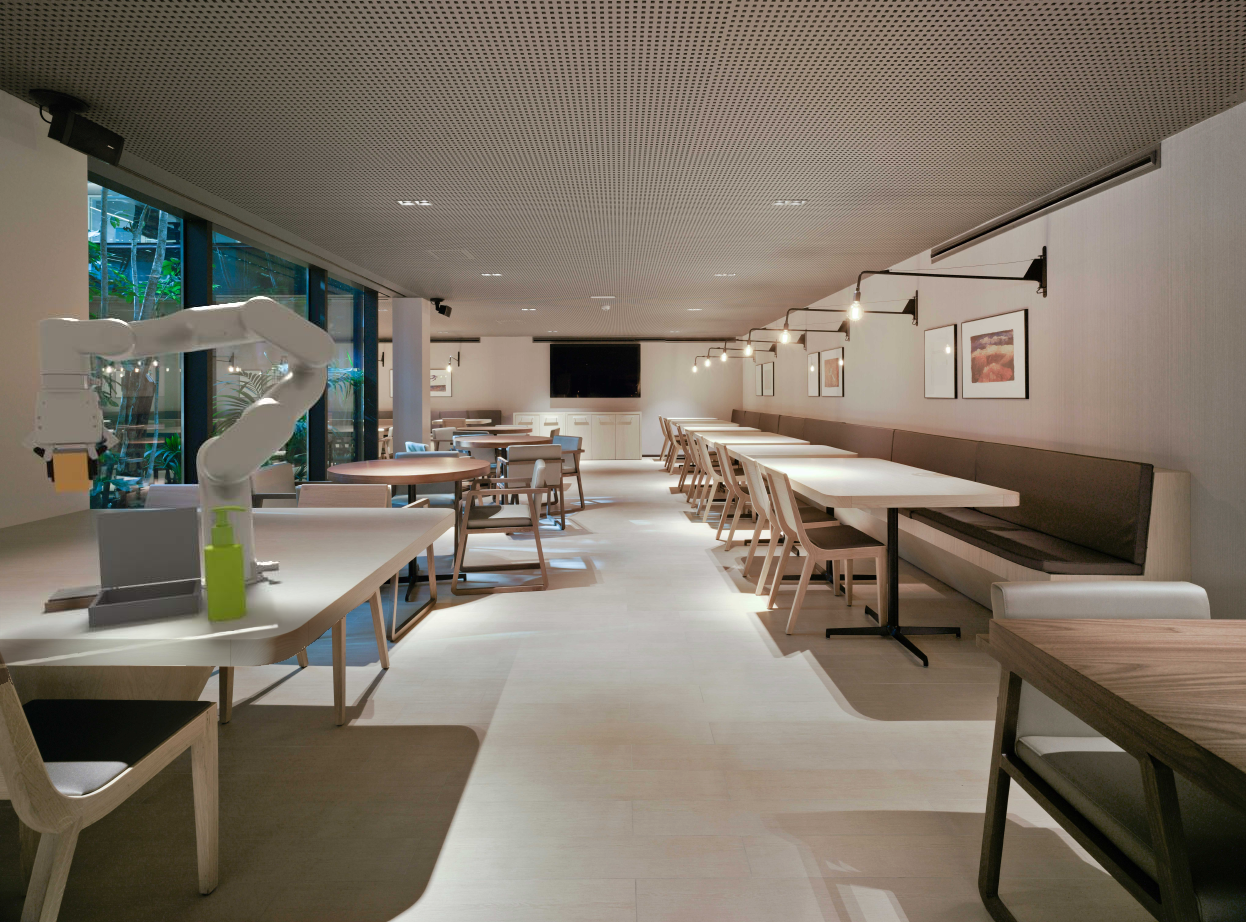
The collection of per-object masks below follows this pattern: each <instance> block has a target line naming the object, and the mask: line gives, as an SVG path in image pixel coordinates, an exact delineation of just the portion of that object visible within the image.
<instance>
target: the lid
mask: <svg viewBox="0 0 1246 922" xmlns="http://www.w3.org/2000/svg"><path fill="white" fill-rule="evenodd" d="M96 522H97V538H98V539H97V540H98V541H97V542H98V555H99V558H98V559H99V573H100V585H101V589H105V588H114V587H118V588H124V587H133V586H142V585H151V584H160V583H169V582H178V581H186V580H195V579H202V569H201V568H202V567H201V553H200V536H199V533H200V532H199V518H198V506H189V507H188V506H187V507H174V508H159V509H148V510H147V509H146V510H134V511H133V510H131V511H120V512H119V511H117V512H115V511H114V512H104V513H96Z"/></svg>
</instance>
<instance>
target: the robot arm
mask: <svg viewBox="0 0 1246 922" xmlns="http://www.w3.org/2000/svg"><path fill="white" fill-rule="evenodd" d="M36 327H37V329H36V330H37V331H36V332H37V340H38V355H39V357H38V358H39V366H40V367H39V369H40V378H41V391H39V392H37V395H36V400H35V401H36V402H35V416H34V423H35V424H34V428H33V429H32V430H31V432H29V434H28V435H26V436H25V438H24V439H23V440H22V441H21V445H22V446H23V447H24V448H26V449H28V450H29V451H31V452H34V453H35V454H36V455H37V456H39V457H41V458H42V460H44V461H45V462H46V474H47V478H48V479H51V482H52V483H55V478H54V465H53V452H52V450H53V449H58V448H59V446H63V445H64V446H66V445H67V446H68V445H84V446H85V448H87V450H88V453H89V455H90V456H89V460H88V472H89V480H93V481H95V480H96V479H97V476H99V475H100V466H99V458H101V457H102V456H103V454H105V453H106V452H107V451H108V450H109V449H111V448H112V447H113V446H115V445H116V444H118V443H119V441H120V440H119V438H117V437H116V436H115V435H114V434H113V432H111V431H110V430H109V429H107V427H106V426H105V422H104V421H105V420H104V415H103V410H102V404H101V400H100V399H101V398H100V396H99V393H98V392H95V391H93V390H94V388H95V387H101V386H102V381H101V379H100V378H95V377H93V376H92V367H91V366H92V365H91V356H93V357H101V358H102V359H104V360H107V361H111V362H112V361H113V362H121V361H129V360H137V359H144V358H150V357H157V356H164V355H169V354H177V353H189V352H196V351H203V350H210V349H217V348H221V347H229V346H237V345H244V344H251V343H252V344H253V343H257V342H258V343H259V342H264V341H265V342H266V343H267V344H270V345H271V346H272V347H275V349H277V350H279V351H281V352H283V353H284V354H285V356H286V360H287V365H288V366H287V367H288V368H287V370H286V372H285V374H284V376H283V377H282V378H281V379H280V380H279V381H278V382H276V384H275V385H274V386H273V387H272V388H271V389H269V390H268V391H267V392H266V393H265V394H264V395H262V396H261V397H260V398H259V399H258V400H256V401H255V402H253V403H252V404H250V405H249V406H247V408H245V410H244V411H242V414H241V416H240V417H239V419H237V421H235V422H234V423H233V424H232V425H231V426H230V427H228V428H227V429H226V430H225V431H224V432H223V433H221V434H220V435H218V436H213V437H211V438H209V439H207V440H206V441H205V442H204V443H202V445H201V446H200V447H199V449H198V450H197V451H198V452H197V454H196V461H195V462H196V473H197V480H198V481H197V482H198V490H199V491H198V492H199V501H200V502H199V503H200V518H201V519H200V521H201V523H200V524H201V534H202V537H201V539H202V551H203V564H204V565H203V568H204V577H203V578H200V579H201V587H202V589H205V590H207V587H206V571H205V555H204V548H205V547H207V546H210V545H212V533H211V527H213V526H214V525H217V523H216V512H213V513H211V509H213V508H218V507H226V506H239V507H245V508H247V509H246V510H245V511H243V512H242V511H227V522H228V524H230V525H233V531H234V543H240V544H242V547H243V564H244V581H245V586H248V585H252V584H256V583H259V582H261V581H263V580H264V578H265V576H264V573H266V572H267V573H268V572H278V571H280V566H279V561H276V562H275V561H274V562H273V561H268V562H267V561H266V562H263V561H262V562H260V561H258V560H257V557H255V556H256V555H255V539H254V524H253V522H254V520H253V519H254V518H253V502H252V499H253V498H252V491H251V490H252V489H251V488H252V487H251V481H250V479H251V478H250V476H251V475H253V474H254V473H255V472H256V471H257V470H258V469H259V468H261V466H262V465H264V464H265V463H266V462H267V461H268V460H269V459H270V458H271V457H273V456H274V455H275V454H276V453H277V452H278V451H280V449H281V448H283V446H285V444H287V442H288V441H290V440H291V438H292V437H293V435H294V432H295V430H296V424H297V423H296V422H298V421H299V420H300V419H301V418H302V417H304V416H305V414H306V413H307V412H308V411H309V410H310V409H311V408H312V407H313V406H314V405H315V404H316V403H317V402H318V400H319V399H320V398H321V397H322V395H323V393H324V391H325V388H326V386H327V385H326V384H327V380H328V368H327V366H328V365H329V364H330V363H331V362H332V361H333V360H334V357H335V354H336V344H335V341H334V339H333V338H332V336H331V335H330V334H329V333H328V332H327V331H325V330H324V329H322V328H321V327H319V326H317V325H316V324H314V323H313V322H311V321H309V320H307V319H306V318H304V317H302V316H301V315H299V314H298V313H296V312H294V311H293V310H291V309H289V308H288V307H287V306H285V305H283V304H282V303H279V302H278V301H277V300H274V299H272V298H269V297H265V296H256V297H252V298H249V299H248V300H247V301H244V302H236V303H227V304H219V305H209V306H199V307H190V308H185V309H182V310H179V311H176V312H174V313H171V314H168V315H166V316H162V317H157V318H150V319H143V320H137V321H136V320H135V321H129V322H125V321H123V320H120V319H115V318H100V319H98V318H97V319H82V320H80V319H75V318H68V317H67V318H66V317H65V318H64V317H48V318H47V317H46V318H42V319H41V320H38V323H37V326H36ZM105 439H106V441H105V442H104V443H103V444H101V445H100V446H98V447H97V444H98V443H101V442H103V441H104V440H105ZM35 441H36V442H37V443H38V444H36V443H35ZM39 445H45V446H46V448H44V447H42V446H39Z"/></svg>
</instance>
